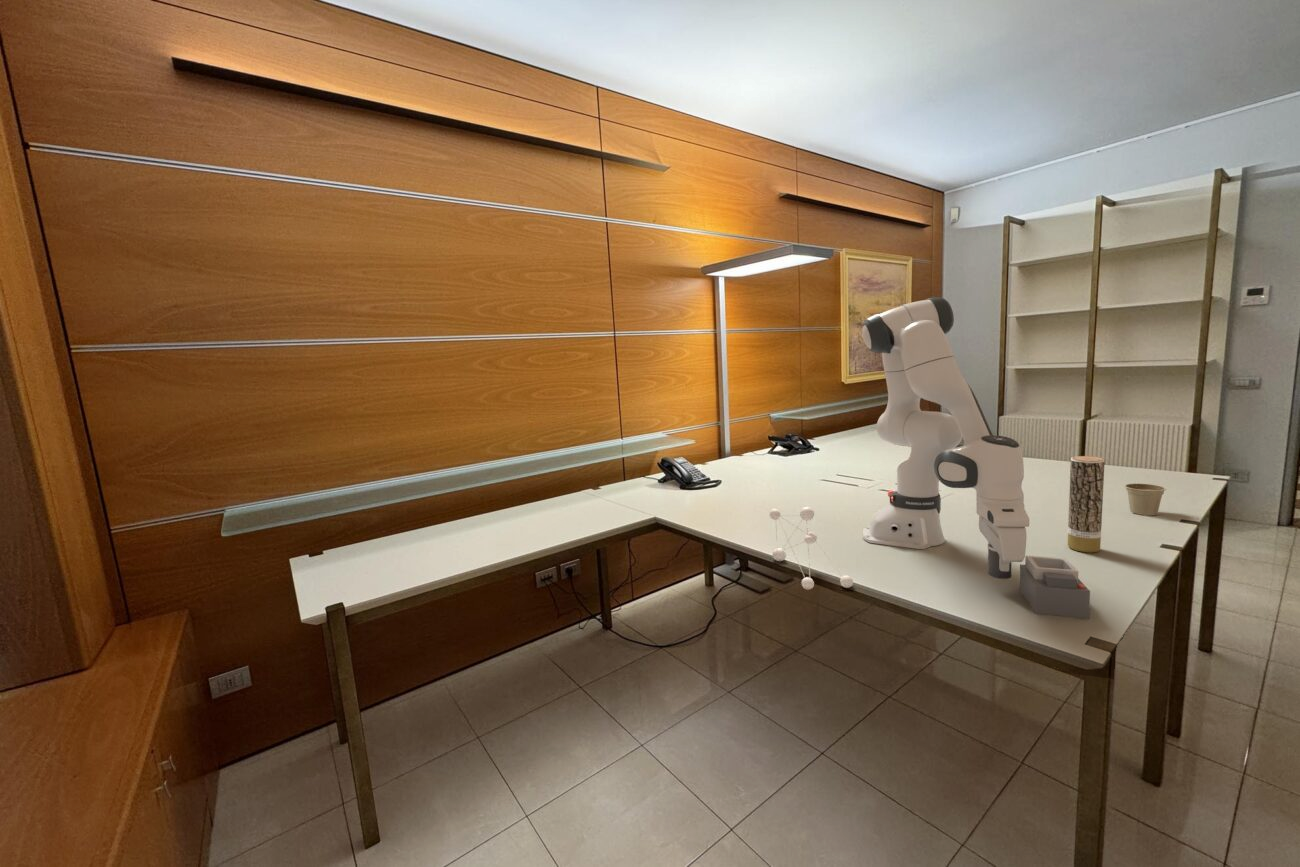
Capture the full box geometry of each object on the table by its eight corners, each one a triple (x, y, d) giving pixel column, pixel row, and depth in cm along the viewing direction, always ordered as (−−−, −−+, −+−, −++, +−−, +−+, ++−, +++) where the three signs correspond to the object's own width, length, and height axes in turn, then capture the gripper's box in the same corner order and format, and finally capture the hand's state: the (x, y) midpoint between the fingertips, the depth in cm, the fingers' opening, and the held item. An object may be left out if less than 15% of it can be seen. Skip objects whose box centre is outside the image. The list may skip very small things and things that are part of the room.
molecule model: (795, 560, 148) (809, 501, 146) (851, 599, 124) (868, 530, 123) (753, 556, 144) (767, 495, 142) (802, 596, 120) (819, 523, 118)
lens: (991, 578, 116) (991, 549, 115) (985, 570, 120) (985, 542, 119) (1015, 579, 114) (1015, 550, 113) (1008, 571, 118) (1008, 542, 118)
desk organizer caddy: (1088, 618, 103) (1090, 579, 102) (1035, 613, 107) (1036, 575, 106) (1067, 593, 114) (1068, 557, 113) (1019, 589, 118) (1020, 554, 116)
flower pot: (1137, 518, 157) (1139, 490, 156) (1115, 509, 166) (1116, 483, 165) (1173, 517, 156) (1174, 490, 155) (1148, 508, 165) (1150, 482, 164)
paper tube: (1106, 553, 133) (1111, 460, 130) (1076, 553, 135) (1080, 461, 131) (1089, 544, 140) (1093, 455, 137) (1061, 544, 141) (1065, 456, 138)
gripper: (971, 494, 126) (971, 547, 128) (997, 521, 107) (997, 583, 109) (1001, 494, 123) (1001, 548, 125) (1032, 522, 104) (1032, 585, 106)
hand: (999, 564), depth 117 cm, fingers closed on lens, 4 cm apart
